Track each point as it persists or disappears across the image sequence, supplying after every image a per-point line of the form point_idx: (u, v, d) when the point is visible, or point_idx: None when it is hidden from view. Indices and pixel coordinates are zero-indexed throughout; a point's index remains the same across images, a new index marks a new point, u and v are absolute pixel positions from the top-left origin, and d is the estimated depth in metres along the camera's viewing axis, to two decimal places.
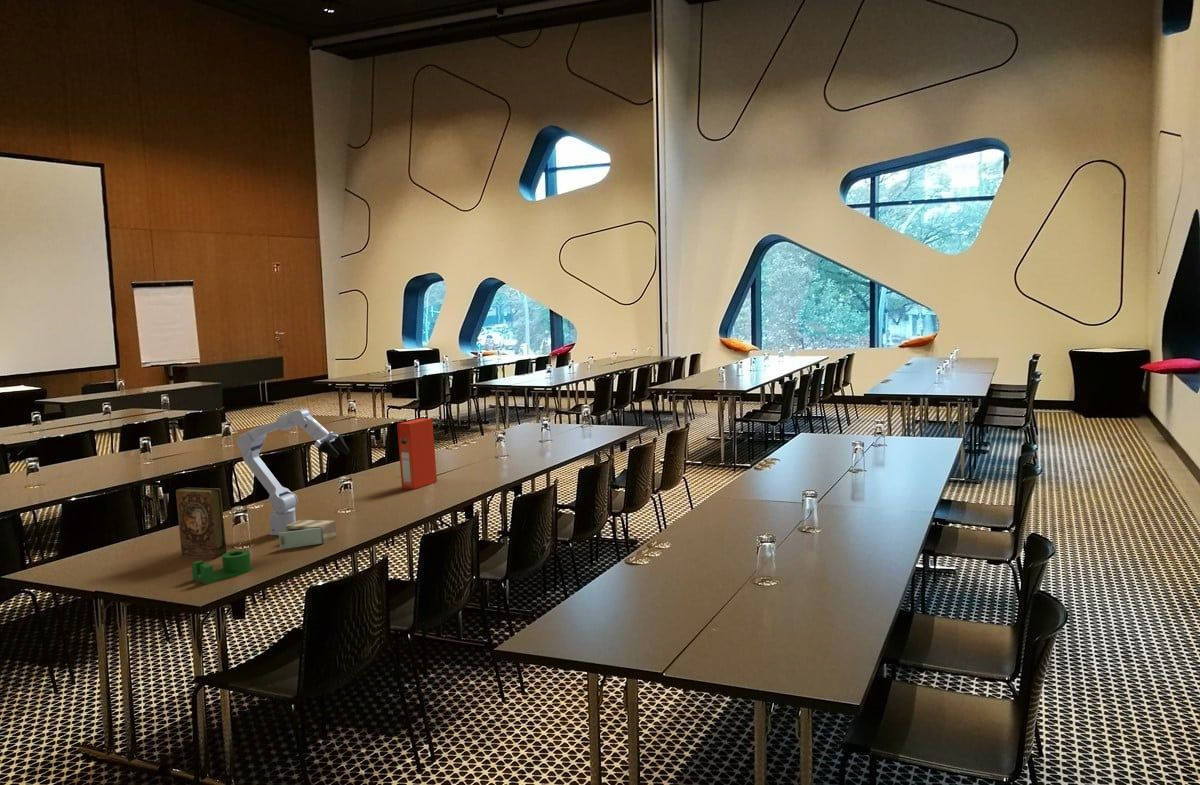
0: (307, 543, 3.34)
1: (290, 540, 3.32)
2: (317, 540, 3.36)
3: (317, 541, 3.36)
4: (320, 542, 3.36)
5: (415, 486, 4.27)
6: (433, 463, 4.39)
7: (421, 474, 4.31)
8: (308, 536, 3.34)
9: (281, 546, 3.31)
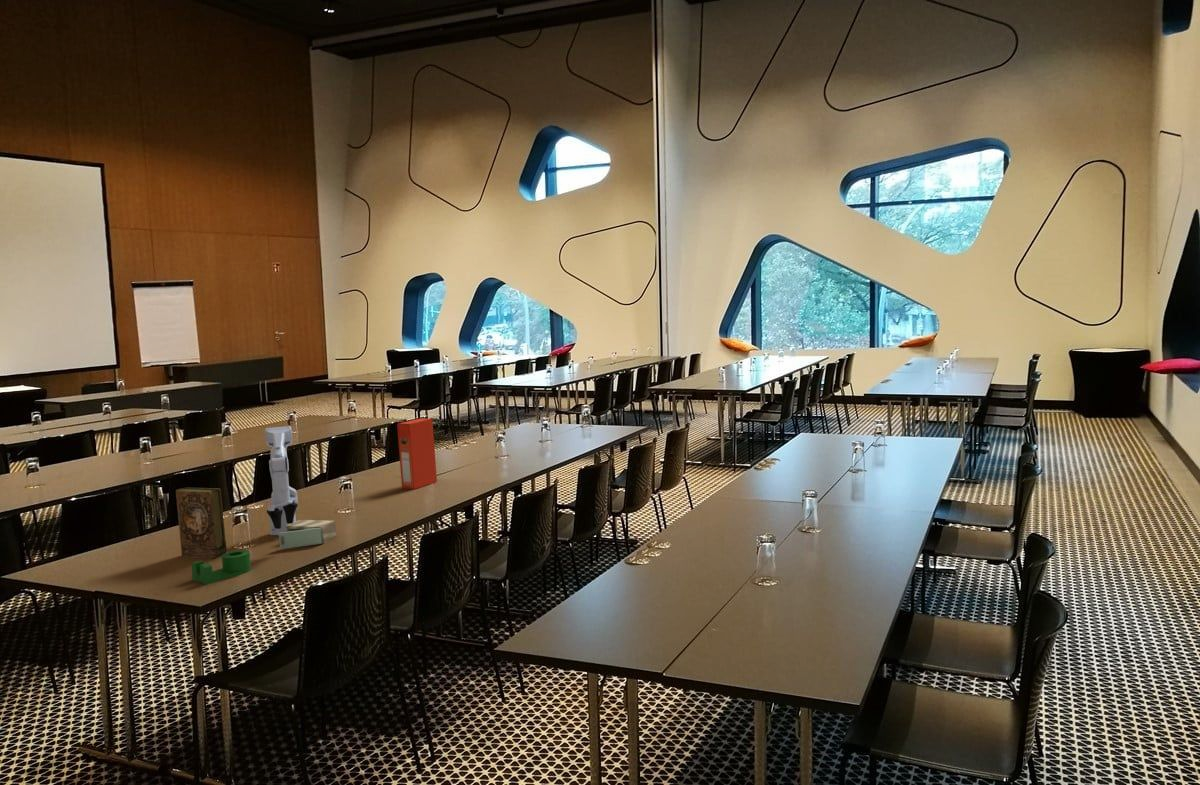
0: (307, 543, 3.34)
1: (290, 540, 3.32)
2: (317, 540, 3.36)
3: (317, 541, 3.36)
4: (320, 542, 3.36)
5: (415, 486, 4.27)
6: (433, 463, 4.39)
7: (421, 474, 4.31)
8: (308, 536, 3.34)
9: (281, 546, 3.31)
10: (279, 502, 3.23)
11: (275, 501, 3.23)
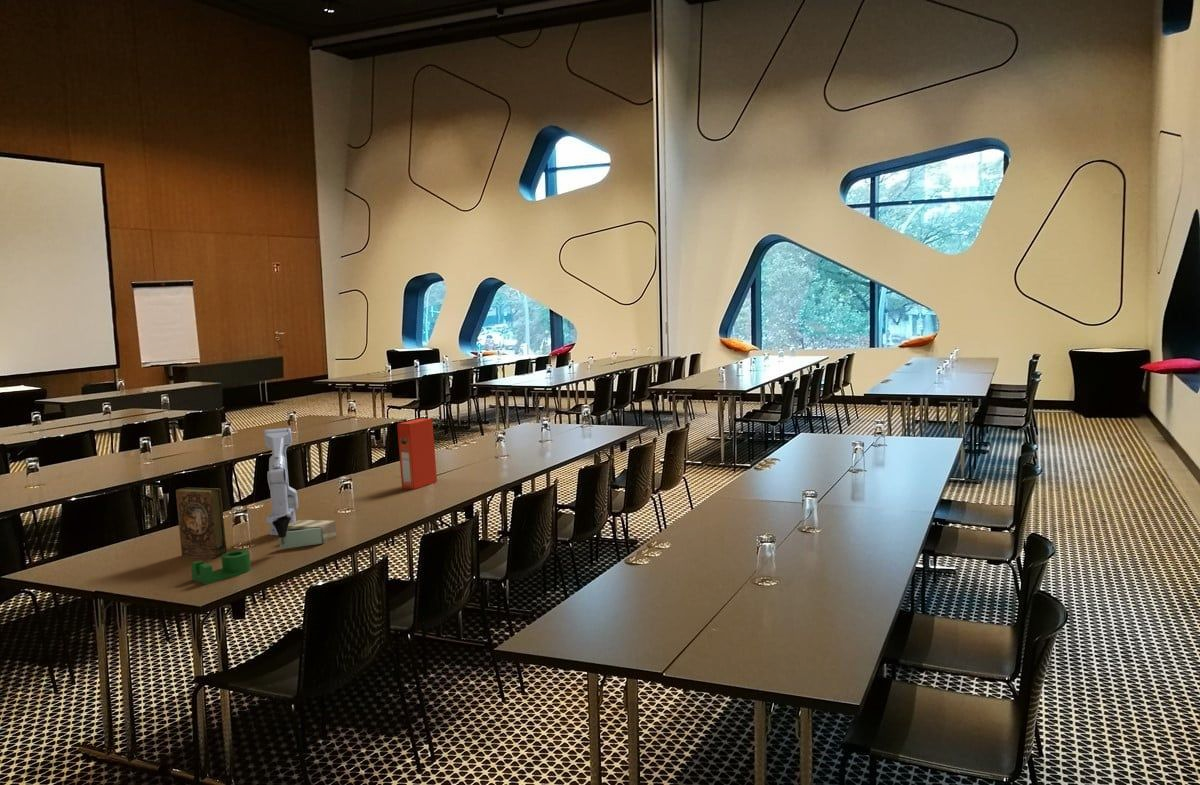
0: (307, 543, 3.34)
1: (290, 540, 3.32)
2: (317, 540, 3.36)
3: (317, 541, 3.36)
4: (320, 542, 3.36)
5: (415, 486, 4.27)
6: (433, 463, 4.39)
7: (421, 474, 4.31)
8: (308, 536, 3.34)
9: (281, 546, 3.31)
10: (277, 514, 3.23)
11: (273, 513, 3.24)
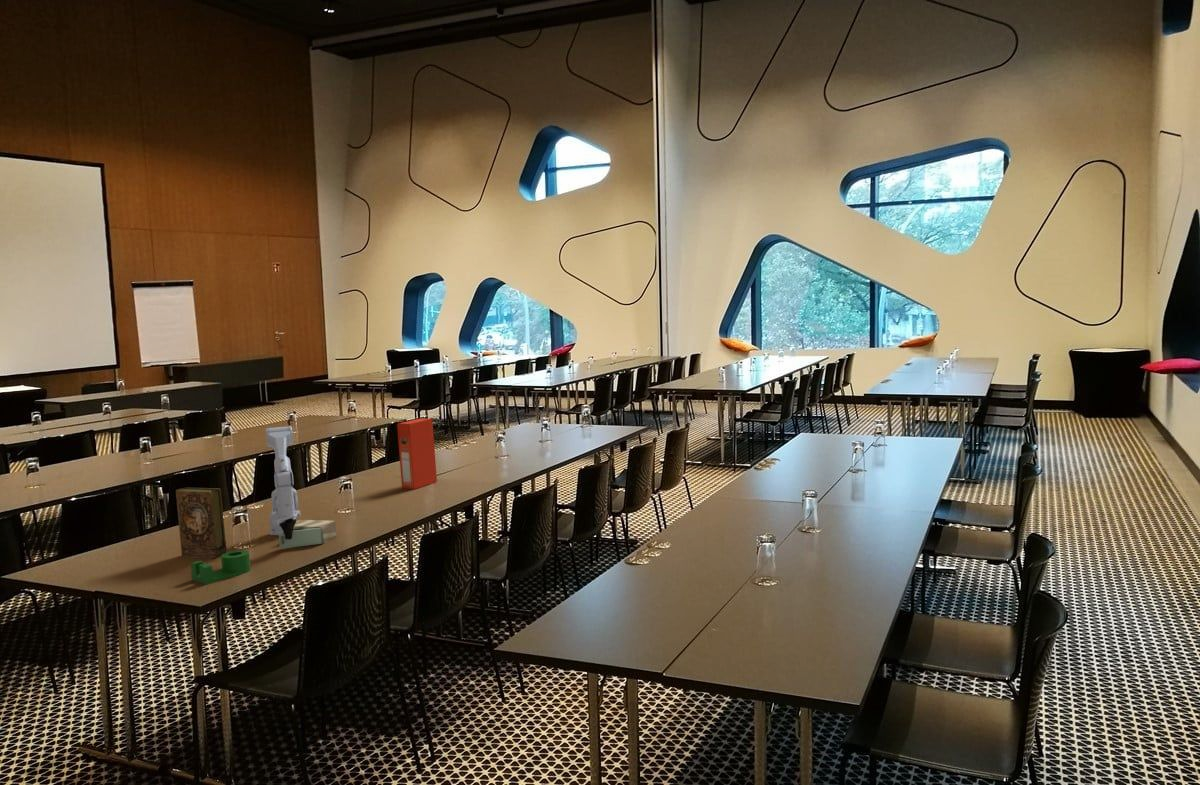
0: (306, 543, 3.34)
1: (290, 540, 3.32)
2: (317, 540, 3.36)
3: (317, 541, 3.36)
4: (320, 542, 3.36)
5: (415, 486, 4.27)
6: (433, 463, 4.39)
7: (421, 474, 4.31)
8: (308, 536, 3.34)
9: (281, 546, 3.32)
10: (284, 516, 3.27)
11: (280, 515, 3.27)
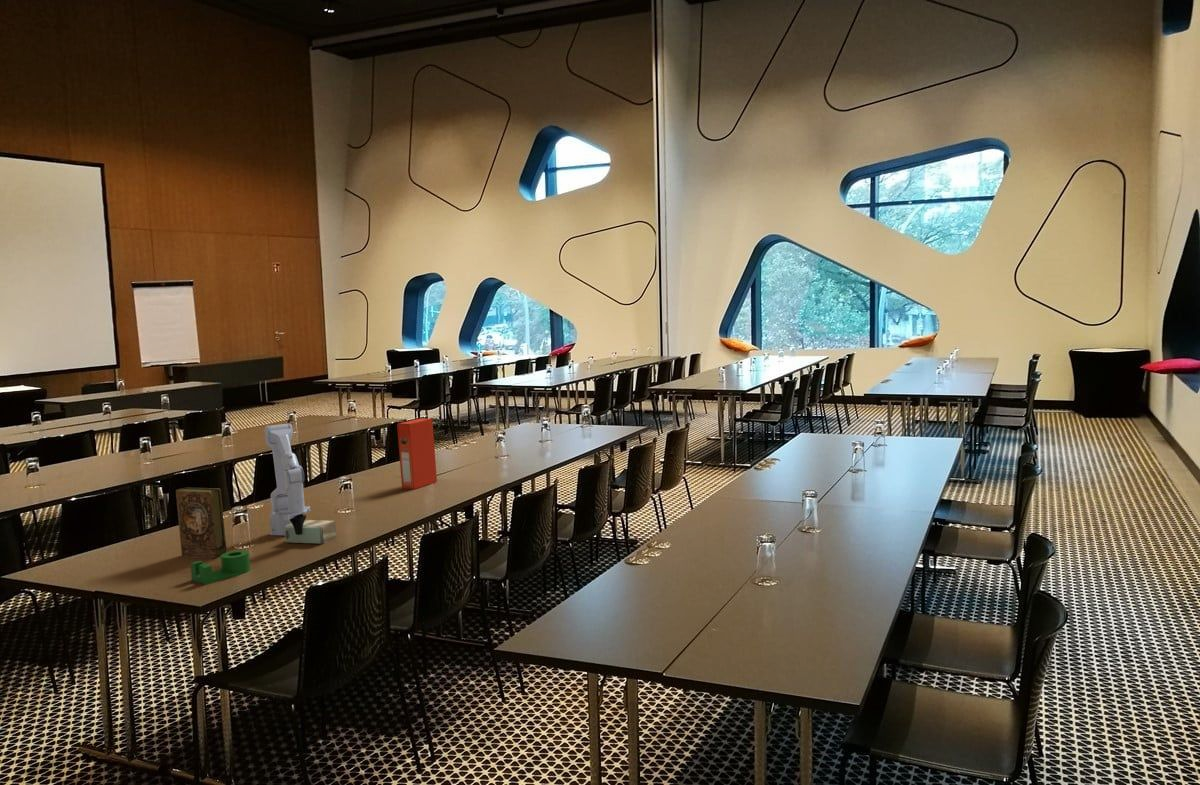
0: (307, 541, 3.38)
1: (294, 535, 3.39)
2: (316, 540, 3.36)
3: (316, 540, 3.37)
4: (319, 542, 3.36)
5: (415, 486, 4.27)
6: (433, 463, 4.39)
7: (421, 474, 4.31)
8: (309, 534, 3.37)
9: (286, 540, 3.40)
10: (294, 512, 3.33)
11: (290, 511, 3.34)
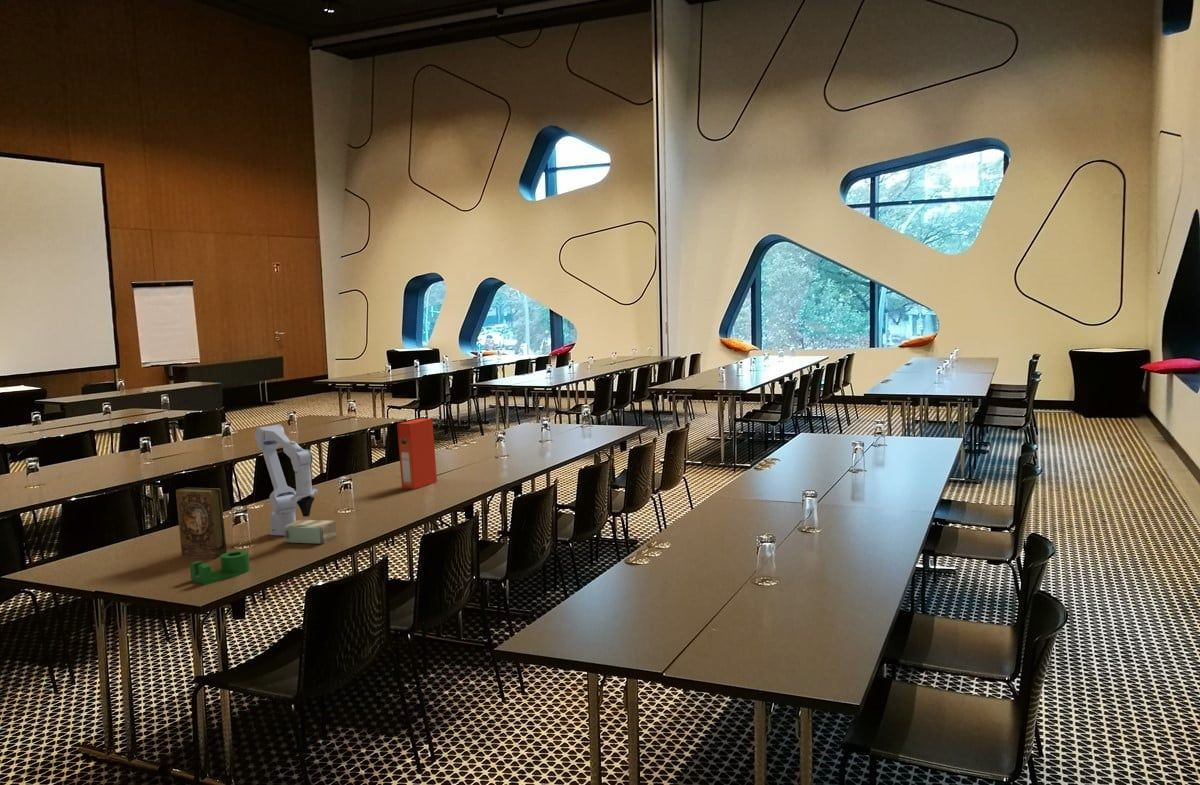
0: (307, 541, 3.38)
1: (294, 535, 3.39)
2: (316, 540, 3.36)
3: (316, 540, 3.37)
4: (319, 542, 3.36)
5: (415, 486, 4.27)
6: (433, 463, 4.39)
7: (421, 474, 4.31)
8: (309, 534, 3.37)
9: (286, 540, 3.40)
10: (302, 494, 3.39)
11: (298, 493, 3.40)
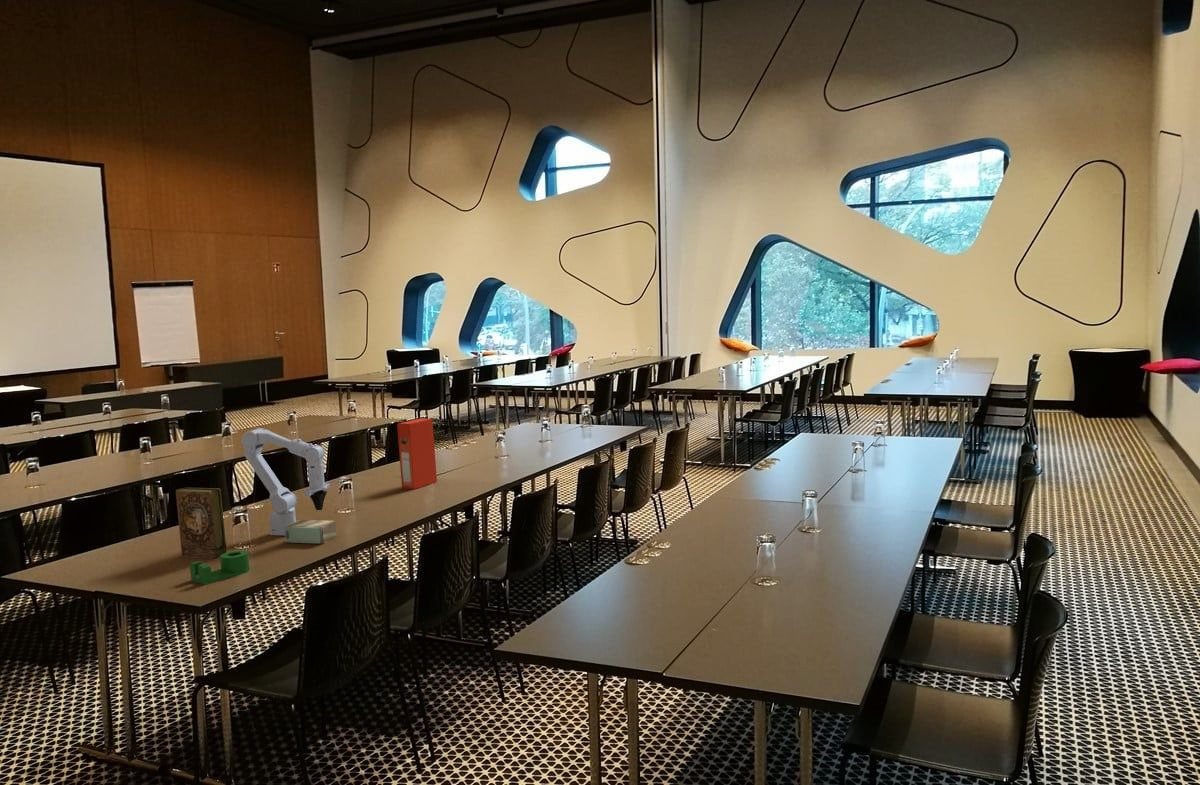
0: (307, 541, 3.38)
1: (294, 535, 3.39)
2: (316, 540, 3.36)
3: (316, 540, 3.37)
4: (319, 542, 3.36)
5: (415, 486, 4.27)
6: (433, 463, 4.39)
7: (421, 474, 4.31)
8: (309, 534, 3.37)
9: (286, 540, 3.40)
10: (315, 488, 3.48)
11: (311, 487, 3.49)
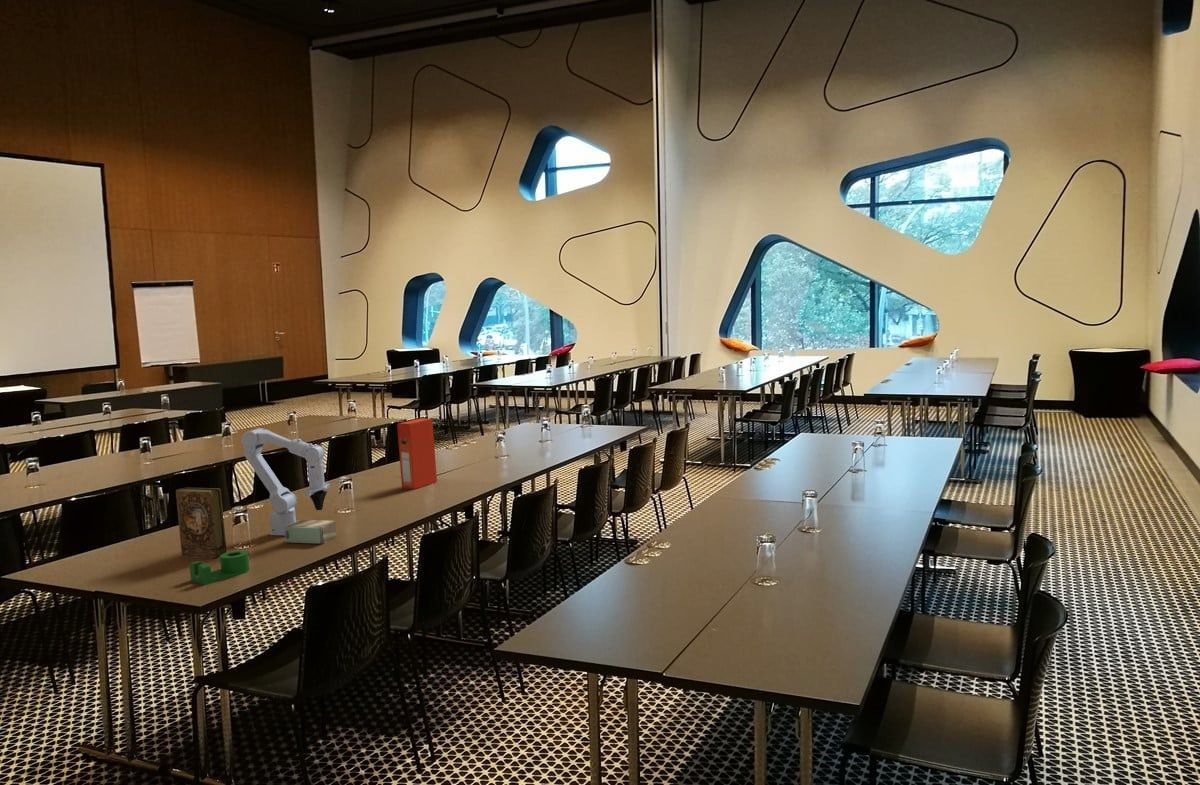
0: (307, 541, 3.38)
1: (294, 535, 3.39)
2: (316, 540, 3.36)
3: (316, 540, 3.37)
4: (319, 542, 3.36)
5: (415, 486, 4.27)
6: (433, 463, 4.39)
7: (421, 474, 4.31)
8: (309, 534, 3.37)
9: (286, 540, 3.40)
10: (315, 488, 3.48)
11: (311, 487, 3.49)
